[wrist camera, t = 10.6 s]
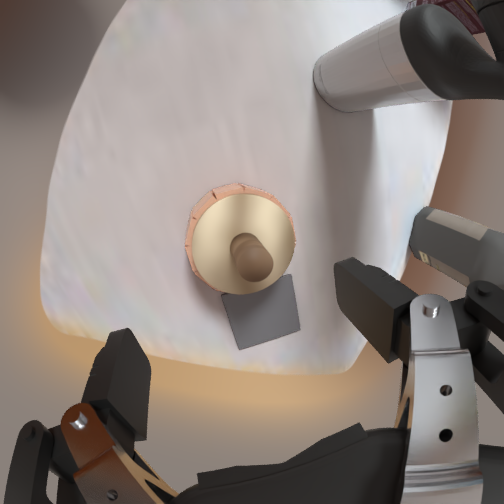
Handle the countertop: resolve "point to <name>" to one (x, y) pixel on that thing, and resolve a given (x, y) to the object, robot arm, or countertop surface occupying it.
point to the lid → (242, 243)
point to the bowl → (212, 198)
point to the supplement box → (457, 12)
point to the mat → (263, 313)
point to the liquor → (458, 247)
